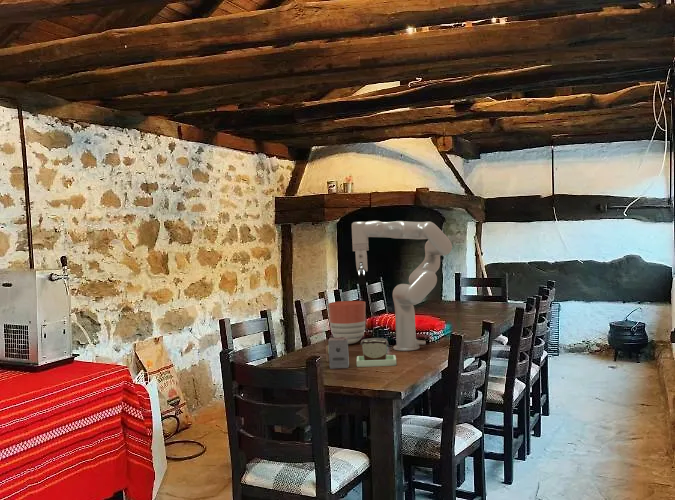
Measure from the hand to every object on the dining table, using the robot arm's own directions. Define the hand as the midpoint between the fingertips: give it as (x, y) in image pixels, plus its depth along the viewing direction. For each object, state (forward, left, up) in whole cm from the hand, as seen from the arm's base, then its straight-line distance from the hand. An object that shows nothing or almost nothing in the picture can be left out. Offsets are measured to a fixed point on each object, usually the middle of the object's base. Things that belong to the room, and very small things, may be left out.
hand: (362, 283), depth 289 cm
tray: (-5, +23, -33) cm, 41 cm away
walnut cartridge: (+15, +14, -33) cm, 39 cm away
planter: (+9, -31, -34) cm, 47 cm away
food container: (-5, +22, -33) cm, 40 cm away
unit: (+11, +26, -33) cm, 44 cm away
